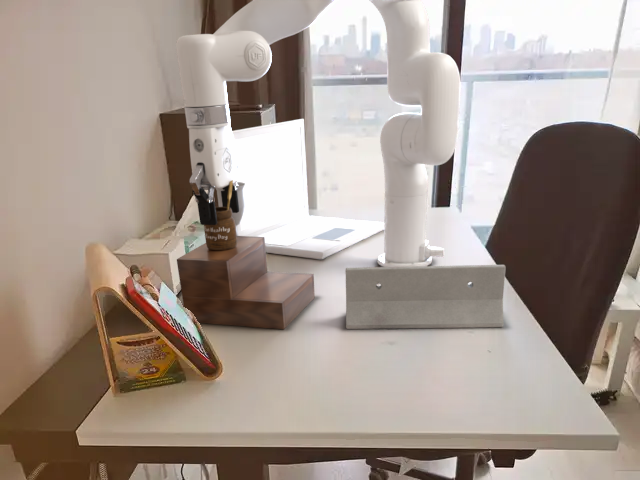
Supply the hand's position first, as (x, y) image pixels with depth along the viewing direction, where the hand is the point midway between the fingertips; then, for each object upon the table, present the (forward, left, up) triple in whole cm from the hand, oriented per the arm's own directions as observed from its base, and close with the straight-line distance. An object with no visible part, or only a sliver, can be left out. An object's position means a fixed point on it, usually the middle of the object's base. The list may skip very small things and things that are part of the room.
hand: (220, 218), depth 121 cm
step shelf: (-5, 0, -17) cm, 18 cm away
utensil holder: (0, 0, -6) cm, 6 cm away
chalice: (+12, -31, -18) cm, 37 cm away
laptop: (+1, -56, -18) cm, 58 cm away
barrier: (-38, 0, -18) cm, 42 cm away
